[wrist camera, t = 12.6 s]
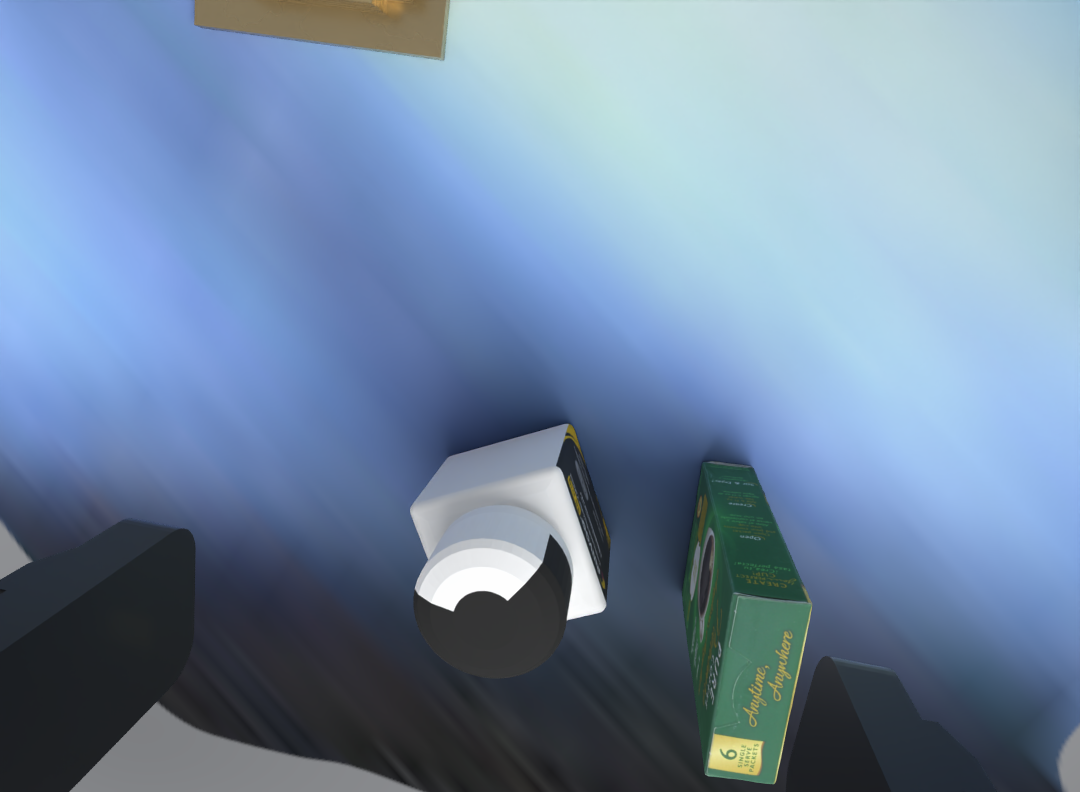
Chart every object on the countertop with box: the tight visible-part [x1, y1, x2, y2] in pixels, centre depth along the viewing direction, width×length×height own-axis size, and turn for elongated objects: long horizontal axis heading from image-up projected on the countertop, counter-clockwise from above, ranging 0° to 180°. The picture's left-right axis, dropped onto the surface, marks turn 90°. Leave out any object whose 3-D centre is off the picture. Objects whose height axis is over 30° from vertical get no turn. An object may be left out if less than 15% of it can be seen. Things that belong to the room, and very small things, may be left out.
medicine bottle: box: [410, 424, 610, 678], centre depth 33 cm, size 7×7×12 cm
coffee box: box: [682, 461, 812, 784], centre depth 32 cm, size 8×3×13 cm, turn 175°
